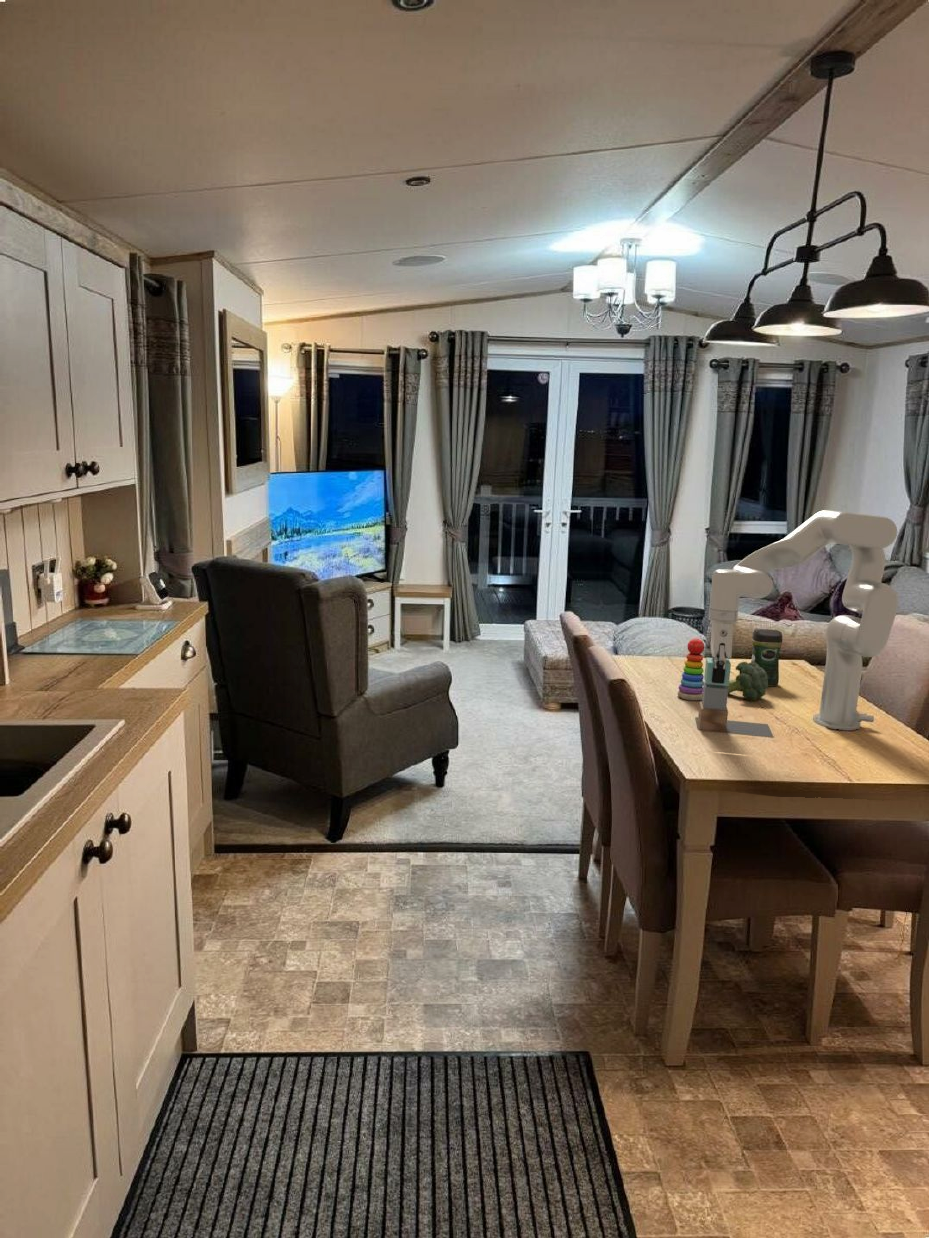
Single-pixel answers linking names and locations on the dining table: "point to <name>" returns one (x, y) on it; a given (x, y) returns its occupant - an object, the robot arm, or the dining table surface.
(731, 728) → the mat
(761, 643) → the coffee jar
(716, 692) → the tower mid
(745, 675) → the vegetable
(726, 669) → the teal cube
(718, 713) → the tower base
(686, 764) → the dining table surface
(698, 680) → the stacking toy
